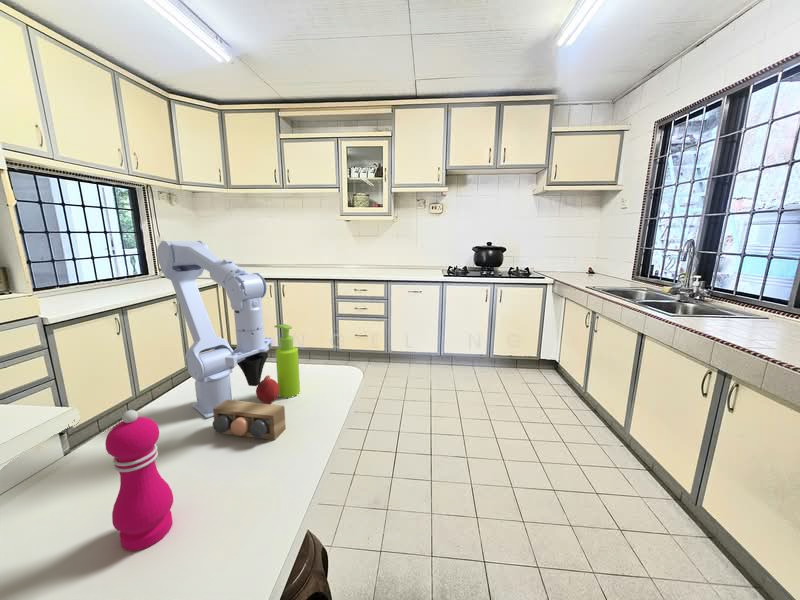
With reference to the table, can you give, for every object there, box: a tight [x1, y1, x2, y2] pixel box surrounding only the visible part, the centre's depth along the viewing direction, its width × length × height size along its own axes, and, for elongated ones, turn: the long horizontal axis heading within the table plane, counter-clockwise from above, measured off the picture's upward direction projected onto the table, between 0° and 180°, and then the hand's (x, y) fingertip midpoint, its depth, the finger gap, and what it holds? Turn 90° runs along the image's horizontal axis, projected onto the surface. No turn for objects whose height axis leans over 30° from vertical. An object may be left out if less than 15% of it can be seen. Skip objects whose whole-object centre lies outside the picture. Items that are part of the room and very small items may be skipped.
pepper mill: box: [104, 409, 174, 552], centre depth 49 cm, size 7×7×20 cm
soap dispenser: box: [274, 323, 301, 398], centre depth 94 cm, size 6×7×20 cm
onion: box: [255, 374, 280, 404], centre depth 89 cm, size 6×6×8 cm
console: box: [213, 399, 287, 441], centre depth 77 cm, size 15×4×6 cm, turn 79°
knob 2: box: [249, 418, 270, 439], centre depth 75 cm, size 4×6×4 cm, turn 169°
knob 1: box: [212, 414, 233, 434], centre depth 77 cm, size 4×6×4 cm, turn 169°
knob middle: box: [231, 416, 251, 437], centre depth 76 cm, size 4×6×4 cm, turn 169°
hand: (254, 384), depth 77 cm, fingers closed
